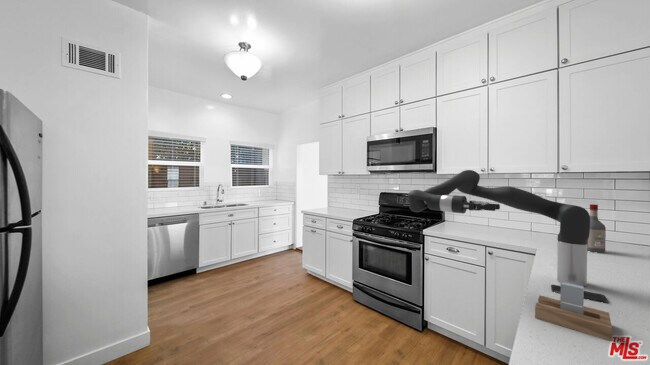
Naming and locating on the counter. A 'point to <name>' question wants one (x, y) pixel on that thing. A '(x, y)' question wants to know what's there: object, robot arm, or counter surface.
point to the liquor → (596, 232)
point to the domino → (572, 298)
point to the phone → (587, 294)
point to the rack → (575, 318)
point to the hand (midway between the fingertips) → (497, 207)
